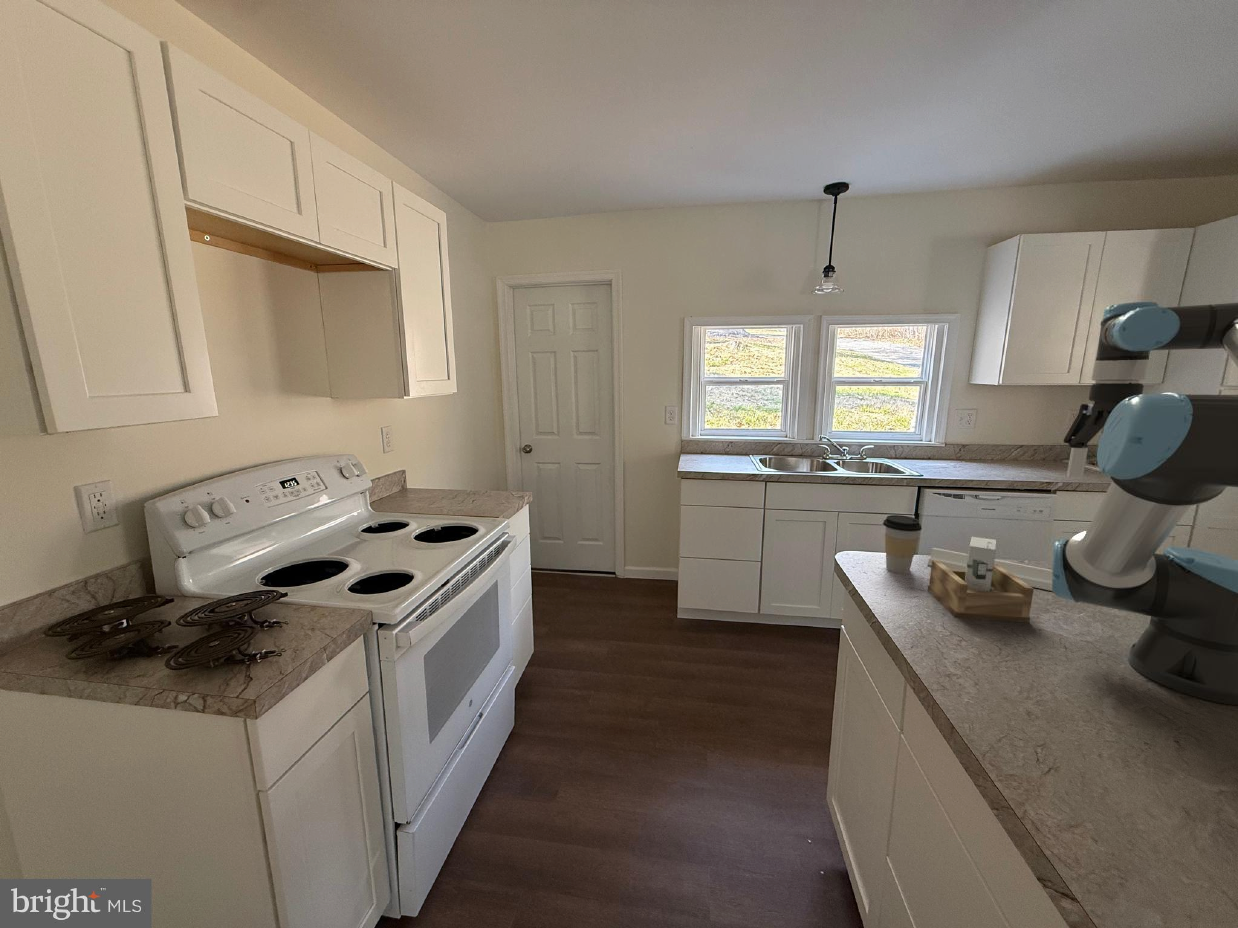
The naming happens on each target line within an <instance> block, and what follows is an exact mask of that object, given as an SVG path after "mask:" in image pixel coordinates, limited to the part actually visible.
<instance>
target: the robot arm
mask: <svg viewBox="0 0 1238 928" xmlns="http://www.w3.org/2000/svg"><path fill="white" fill-rule="evenodd" d="M1098 338H1099V339H1098V344H1097V349H1096V357H1095V361H1094V365H1093V369H1092V374H1091V375H1092V376H1091V380H1092V381H1095V383H1092V384H1090V388H1089V394H1088V395H1089V396H1088V400H1089V401H1091V402H1094V403H1082V404H1080V406H1079V411H1078V414H1077V415H1076V417H1075V419H1074V421H1073V423H1072V424H1071V426H1070V427H1069V430H1068V431H1067V433H1066V435H1065V437H1064V438H1063V443H1064V444H1067V445H1068V447H1069V448H1070V451H1069V456H1068V467H1067V472H1066V476H1067V477H1073V478H1074V477H1075V478H1077V477H1079V478H1083V477H1084V472H1085V469H1086V468H1085V467H1086V462H1087V457H1088V456H1087V455H1088V451H1089V448H1088V447H1089V446H1088V443H1090V441H1092V439H1094V438H1095V436H1097V434H1098V433H1099V432H1101V430H1102V429H1103V431H1102V434H1101V435H1100V437H1099V440H1098V445H1097V453H1096V461H1097V467H1098V469H1099V471H1100V472H1101V474H1104V475H1106V476H1108V478H1109V480H1111V483H1110V485H1109V487H1108V489H1107V491H1106V493H1105V495H1104V496H1103V499H1102V500H1101V502H1100V505H1099V506H1098V508H1097V510H1096V512H1095V514H1094V516H1093V518H1092V520H1091V521H1090V523H1089V526H1088V527H1087V530H1084V531H1082V532H1079V533H1078V534H1075V535H1074V536H1073V537H1072V538H1071V539H1066V538H1065V539H1055V540H1054V541H1053V542H1052V543H1053V546H1052V547H1053V548H1052V568H1051V570H1052V591H1051V592H1052V593H1053V594H1054V595H1055V596H1056V597H1057V598H1061V599H1063V600H1064V599H1065V600H1069V601H1072V602H1073V603H1078V604H1079V603H1081V604H1085V605H1087V604H1088V605H1093V606H1096V607H1104V608H1107V609H1112V610H1118V611H1122V612H1129V613H1133V614H1138V615H1142V616H1147V617H1150V620H1149V624H1148V626H1147V627H1146V629H1145V630H1144V631H1143V632H1142V634H1141V635H1140V637H1139V639H1138V640H1136V642H1134V643H1133V644H1132V645H1131V646H1130V648H1129V651H1128V656H1127V660H1128V661H1127V662H1128V664H1129V665H1130V666H1131V667H1132V668H1133V669H1134V670H1136V671H1137V672H1138V673H1140V674H1141V675H1143V676H1144V677H1146V678H1147V679H1150V680H1151V681H1152V682H1153V681H1154V682H1156V683H1158V684H1159V685H1162V686H1165V687H1166V688H1169V689H1171V690H1174V691H1177V692H1179V693H1183V694H1185V695H1189V696H1191V697H1194V698H1197V699H1201V700H1206V701H1209V702H1214V703H1219V704H1225V705H1233V706H1238V560H1237V559H1234V558H1231V557H1228V556H1225V555H1222V554H1217V553H1214V552H1211V551H1206V550H1201V549H1197V548H1192V547H1187V546H1172V545H1171V546H1167V547H1166V548H1165V549H1164V550H1163V551H1162V553H1157V552H1158V550H1159V548H1160V547H1161V546H1162V544H1163V543H1164V542H1165V541H1166V540H1167V538H1168V537H1169V535H1170V534H1171V533H1172V532H1173V530H1174V529H1175V528H1176V527H1177V525H1178V524H1179V523H1180V521H1181V520H1182V518H1184V516H1185V515H1186V513H1187V512H1188V511H1189V510H1190V509H1191V507H1192V506H1193V507H1194V506H1197V505H1201V504H1204V503H1205V504H1206V503H1208V502H1210V501H1212V500H1214V499H1216V498H1217V497H1219V496H1220V495H1222V493H1223V492H1224V491H1225V490H1226V489H1227V487H1229V488H1238V394H1182V393H1179V392H1164V393H1155V394H1154V393H1153V394H1151V393H1147V394H1144V393H1143V391H1144V388H1145V387H1144V386H1145V385H1144V384H1143V383H1140V381H1144V380H1145V379H1146V375H1147V368H1148V363H1149V360H1150V353H1151V351H1177V350H1181V351H1182V350H1205V349H1206V350H1213V349H1214V350H1215V349H1216V350H1217V349H1219V350H1220V349H1223V350H1224V351H1225V352H1226V353H1227V354H1228V356H1229V357H1230V359H1231V360H1232V361H1233V363H1234V364H1235V366H1236V367H1237V368H1238V302H1230V303H1228V302H1227V303H1214V304H1200V305H1199V304H1198V305H1197V304H1196V305H1183V306H1181V305H1179V306H1166V307H1164V306H1163V307H1162V306H1160V305H1159V304H1158V303H1157V302H1154V301H1134V302H1125V303H1124V302H1123V303H1122V302H1121V303H1117V304H1112V305H1109V306H1108V307H1106V308H1105V309H1104V312H1103V315H1102V320H1101V321H1100V332H1099V337H1098Z"/></svg>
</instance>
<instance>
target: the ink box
mask: <svg viewBox="0 0 1238 928" xmlns="http://www.w3.org/2000/svg"><path fill="white" fill-rule="evenodd" d="M996 546H997V540H996V539H993V538H992V539H991V538H985V537H978V536H977V537H976V536H971V538H970V543H969V548H968V553H967V554H968V559H967V567H966V575H965V582H966V583H967V584H968V588H967V590H976V591H990V588H991V581H992V574H993V567H994V559H995V557H996Z"/></svg>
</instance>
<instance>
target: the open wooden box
mask: <svg viewBox="0 0 1238 928" xmlns="http://www.w3.org/2000/svg"><path fill="white" fill-rule="evenodd" d="M965 575H966V570H964V569H948V568H947V567H946V566H945V565H943V564H942V563H941V562H940V561H937V560H932V565H931V566H930V575H929V581H928V582H929V583H928V584H929V585H927V591H928V592H929V593H930V594H931V595H932V596H933V597H934V599H936V601H938V602H939V603H940V605H942V606H943V607H944V608H945V609H946V610H947V611H948V612H949V613H950V614H951V615H952V616H953V617H954V618H961V619H973V620H974V619H975V620H988V621H1000V622H1001V621H1002V622H1003V621H1004V622H1015V623H1027V624H1028V623H1030V622H1031V621H1030V620H1031V617H1030V614H1031V609H1032V602H1033V595H1034V590H1035V589H1034V588H1035V587H1031V586H1029V585H1028V584H1026V583H1025V582H1023V581H1022V580H1020V579H1019V578H1017V577H1016V576H1014V575H1013V574H1011V573H1010V572H1008V571H1007V570H1005V569H1003V568H1002V567H1000V566H999V565H997V564H994V567H993V574H992V581H991V588H990V591H976V590H967V588H968V584H967V583H966V582H965Z"/></svg>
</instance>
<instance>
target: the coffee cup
mask: <svg viewBox="0 0 1238 928" xmlns="http://www.w3.org/2000/svg"><path fill="white" fill-rule="evenodd" d="M882 525H883V526H885V532H884V542H885V543H884V548H885V549H884V551H885V559H886V560H885V564H886V567H885V568H886V569H887V570H888V571H890V572H892V573H895V574H909V573H910V571H911V567H912V563H913V558H914V556H915V553H916V549H917V545H918V540H919V533H920V531H921V530H922V529H923V527H922V524H921V523H920V520H919V519H918V518H914V517H911V516H908V515H901V514H900V515H899V514H893V515H887V516H886V519H883V522H882Z"/></svg>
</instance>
